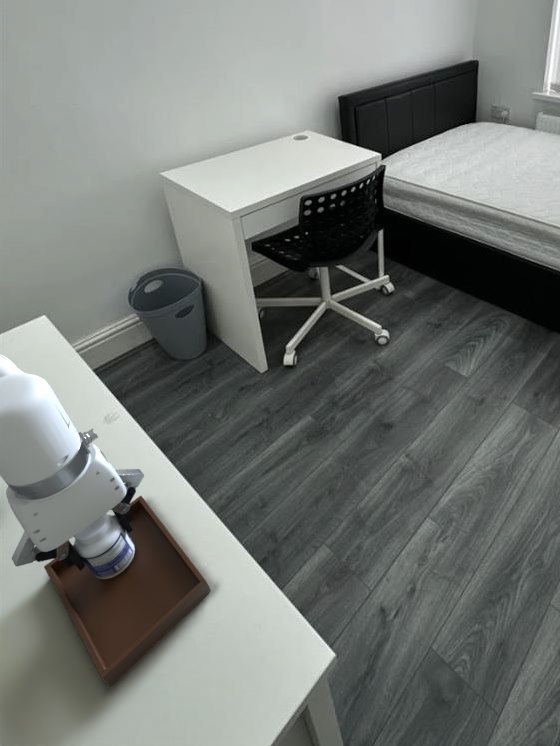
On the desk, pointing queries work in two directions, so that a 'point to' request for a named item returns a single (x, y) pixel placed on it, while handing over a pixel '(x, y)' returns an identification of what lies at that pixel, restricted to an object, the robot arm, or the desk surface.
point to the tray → (130, 596)
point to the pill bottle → (105, 547)
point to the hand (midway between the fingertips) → (102, 542)
